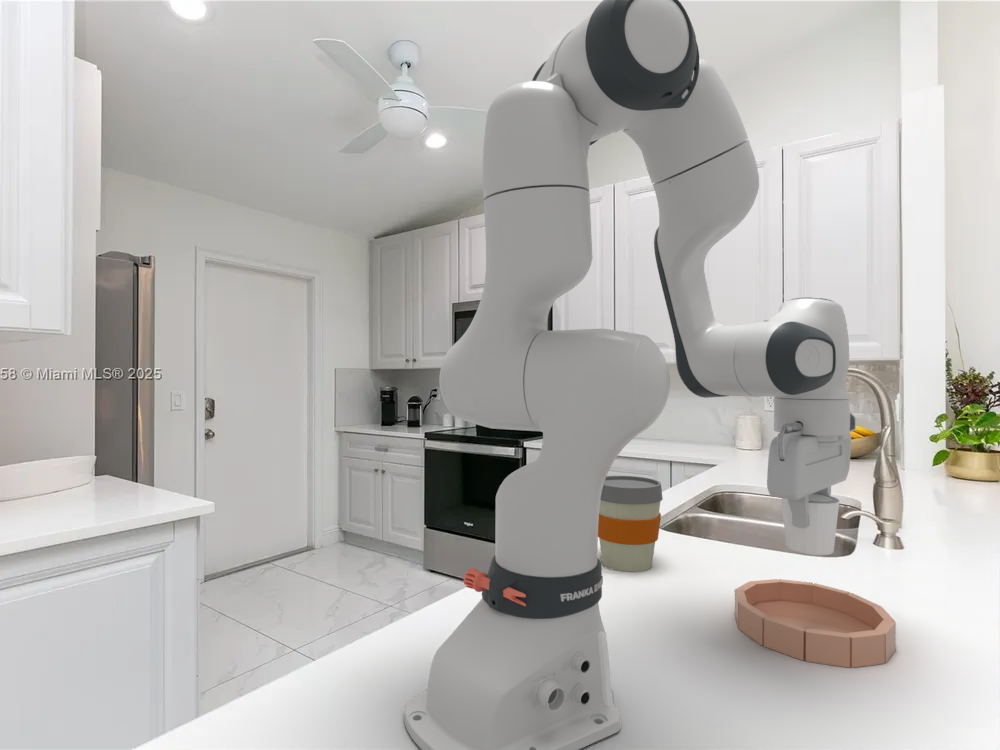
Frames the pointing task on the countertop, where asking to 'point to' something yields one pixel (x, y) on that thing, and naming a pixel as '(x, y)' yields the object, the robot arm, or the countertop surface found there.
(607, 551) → the reusable coffee cup
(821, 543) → the white tapered cup
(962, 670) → the countertop surface
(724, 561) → the countertop surface
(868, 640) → the terracotta round tray
